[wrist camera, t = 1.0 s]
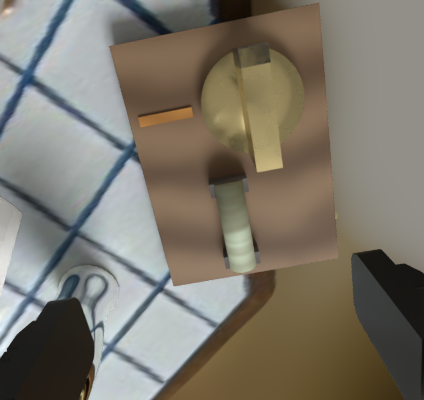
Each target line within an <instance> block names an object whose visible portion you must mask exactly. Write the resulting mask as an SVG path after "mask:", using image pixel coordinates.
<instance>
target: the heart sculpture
mask: <svg viewBox="0 0 424 400" xmlns="http://www.w3.org/2000/svg"><path fill="white" fill-rule="evenodd" d="M22 215H23V214H22V213H21V212H20V211H19V210H18V209H17V208H15V207H14V206H13V205H12V204H11V203H9V202H8V201H7V200H5V199H4V198H2V197H0V295H1V292H2V288H3V284H4V281H5V277H6V273H7V270H8V266H9V262H10V259H11V255H12V251H13V248H14V244H15V240H16V237H17V233H18V229H19V226H20V222H21V218H22Z"/></svg>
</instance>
